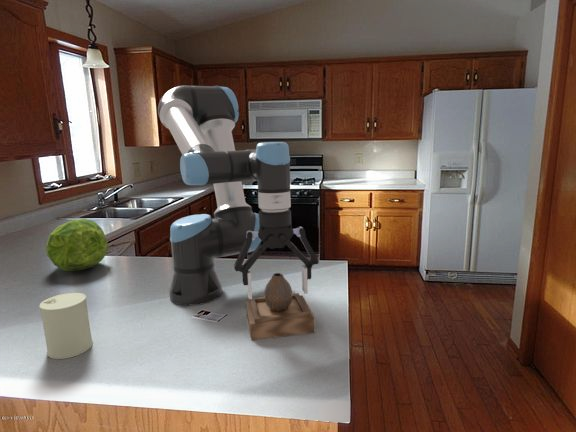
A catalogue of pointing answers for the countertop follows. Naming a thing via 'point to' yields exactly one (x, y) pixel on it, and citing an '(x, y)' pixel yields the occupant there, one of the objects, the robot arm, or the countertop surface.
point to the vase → (278, 293)
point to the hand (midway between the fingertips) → (277, 294)
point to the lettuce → (77, 245)
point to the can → (66, 325)
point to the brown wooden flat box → (279, 318)
